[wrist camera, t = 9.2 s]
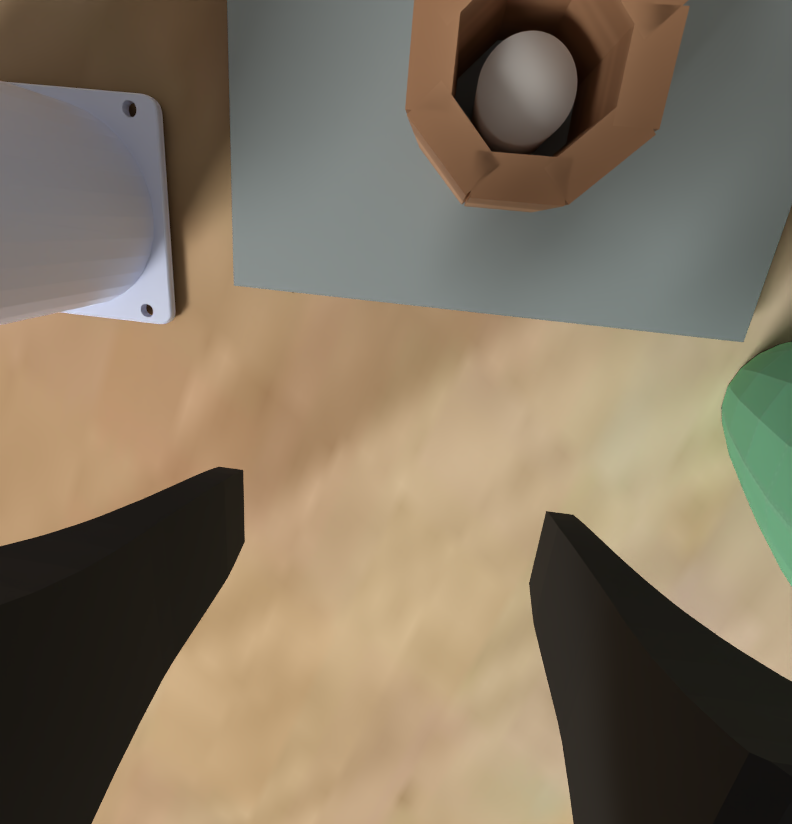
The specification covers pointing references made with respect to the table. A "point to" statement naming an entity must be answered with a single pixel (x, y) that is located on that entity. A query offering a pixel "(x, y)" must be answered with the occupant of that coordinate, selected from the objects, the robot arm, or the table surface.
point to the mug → (764, 444)
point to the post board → (500, 259)
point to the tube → (593, 107)
